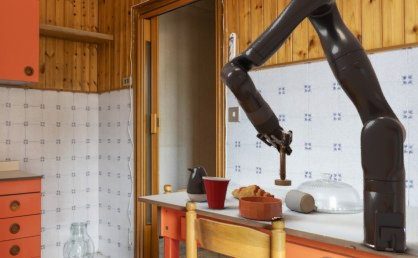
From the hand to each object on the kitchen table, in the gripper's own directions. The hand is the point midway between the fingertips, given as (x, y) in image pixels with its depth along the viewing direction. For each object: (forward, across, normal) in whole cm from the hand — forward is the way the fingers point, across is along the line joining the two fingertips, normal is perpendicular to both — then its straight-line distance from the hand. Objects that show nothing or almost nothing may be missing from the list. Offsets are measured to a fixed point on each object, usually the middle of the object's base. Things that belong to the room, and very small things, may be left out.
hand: (286, 153), depth 133 cm
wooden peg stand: (+6, 0, +9) cm, 11 cm away
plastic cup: (+13, +29, +19) cm, 37 cm away
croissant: (+31, +35, +1) cm, 47 cm away
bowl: (+14, +9, +18) cm, 24 cm away
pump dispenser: (+16, +45, +16) cm, 50 cm away
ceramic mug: (+29, +7, +3) cm, 30 cm away
